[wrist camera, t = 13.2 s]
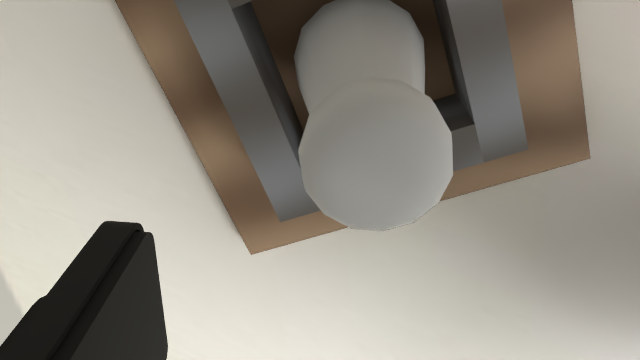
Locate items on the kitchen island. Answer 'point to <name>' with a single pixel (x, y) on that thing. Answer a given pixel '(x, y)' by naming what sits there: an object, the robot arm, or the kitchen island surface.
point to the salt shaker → (369, 117)
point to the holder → (291, 112)
